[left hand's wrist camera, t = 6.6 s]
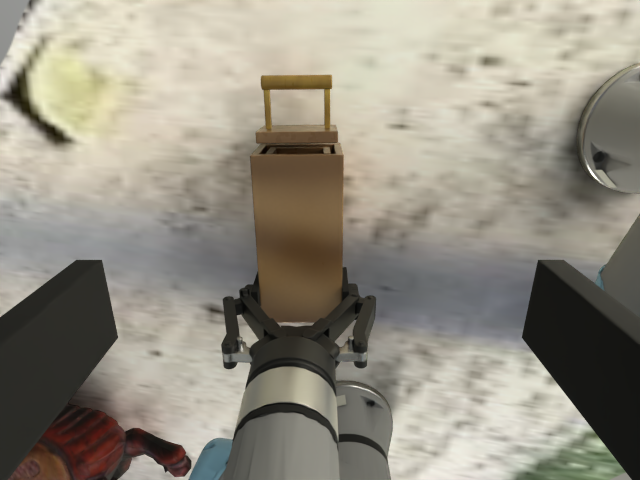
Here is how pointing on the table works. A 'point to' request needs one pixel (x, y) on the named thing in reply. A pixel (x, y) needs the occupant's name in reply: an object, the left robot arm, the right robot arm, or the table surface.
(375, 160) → the table surface
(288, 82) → the drawer
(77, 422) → the sculpture
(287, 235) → the cabinet
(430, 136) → the table surface
